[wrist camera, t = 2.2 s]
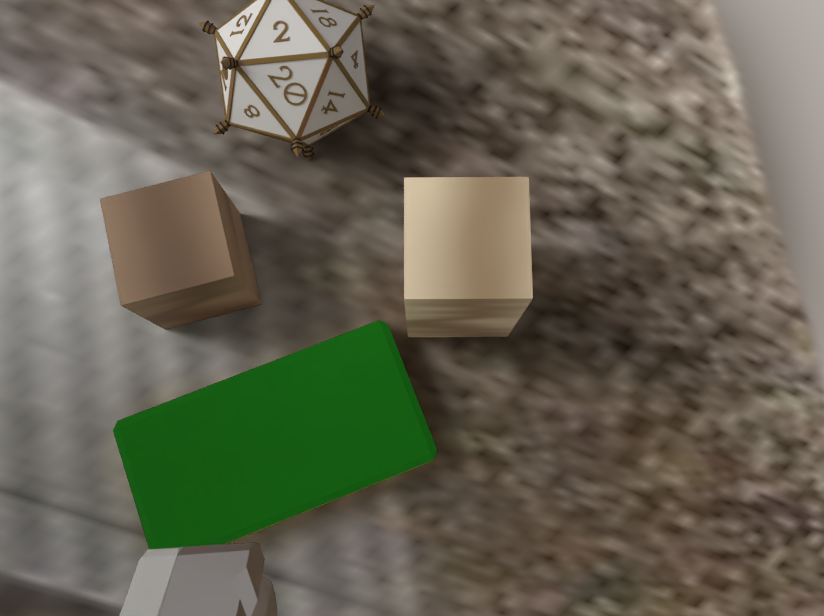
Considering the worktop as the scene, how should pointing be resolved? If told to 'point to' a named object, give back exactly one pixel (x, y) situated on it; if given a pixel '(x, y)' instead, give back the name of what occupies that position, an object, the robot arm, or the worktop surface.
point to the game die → (292, 70)
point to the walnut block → (179, 251)
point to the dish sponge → (274, 441)
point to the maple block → (466, 255)
